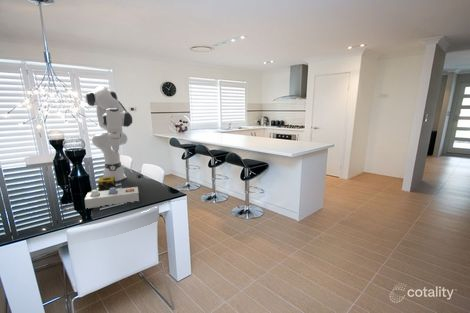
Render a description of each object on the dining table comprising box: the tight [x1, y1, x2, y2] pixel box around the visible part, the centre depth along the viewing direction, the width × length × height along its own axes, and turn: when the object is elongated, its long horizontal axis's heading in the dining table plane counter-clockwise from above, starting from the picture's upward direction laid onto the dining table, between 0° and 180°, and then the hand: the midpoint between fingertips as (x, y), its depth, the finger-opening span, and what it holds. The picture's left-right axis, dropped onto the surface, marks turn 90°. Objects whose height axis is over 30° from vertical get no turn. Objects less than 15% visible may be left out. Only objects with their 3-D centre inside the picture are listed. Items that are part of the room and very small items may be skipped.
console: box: [84, 186, 140, 210], centre depth 152 cm, size 12×30×6 cm, turn 114°
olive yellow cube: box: [97, 176, 117, 191], centre depth 167 cm, size 10×10×10 cm
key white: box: [90, 189, 99, 197], centre depth 147 cm, size 4×4×5 cm
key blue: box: [109, 187, 117, 194], centre depth 151 cm, size 4×4×5 cm
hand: (116, 153), depth 156 cm, fingers closed
